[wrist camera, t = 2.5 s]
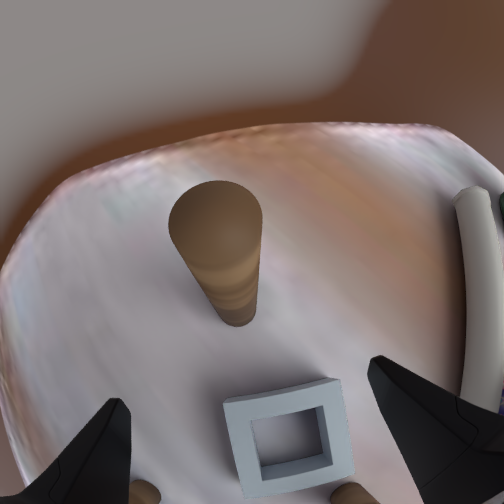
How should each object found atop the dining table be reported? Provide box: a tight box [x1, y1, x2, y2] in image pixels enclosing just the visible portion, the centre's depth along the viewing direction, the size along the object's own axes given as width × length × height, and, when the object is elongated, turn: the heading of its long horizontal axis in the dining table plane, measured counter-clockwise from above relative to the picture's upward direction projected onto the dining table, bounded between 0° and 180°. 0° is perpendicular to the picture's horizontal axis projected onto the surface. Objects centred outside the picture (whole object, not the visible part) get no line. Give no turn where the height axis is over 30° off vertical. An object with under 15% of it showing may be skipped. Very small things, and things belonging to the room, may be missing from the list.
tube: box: [452, 185, 504, 413], centre depth 18 cm, size 5×5×25 cm
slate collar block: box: [223, 378, 355, 499], centre depth 16 cm, size 8×8×3 cm
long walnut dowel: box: [168, 181, 262, 327], centre depth 15 cm, size 3×3×14 cm
